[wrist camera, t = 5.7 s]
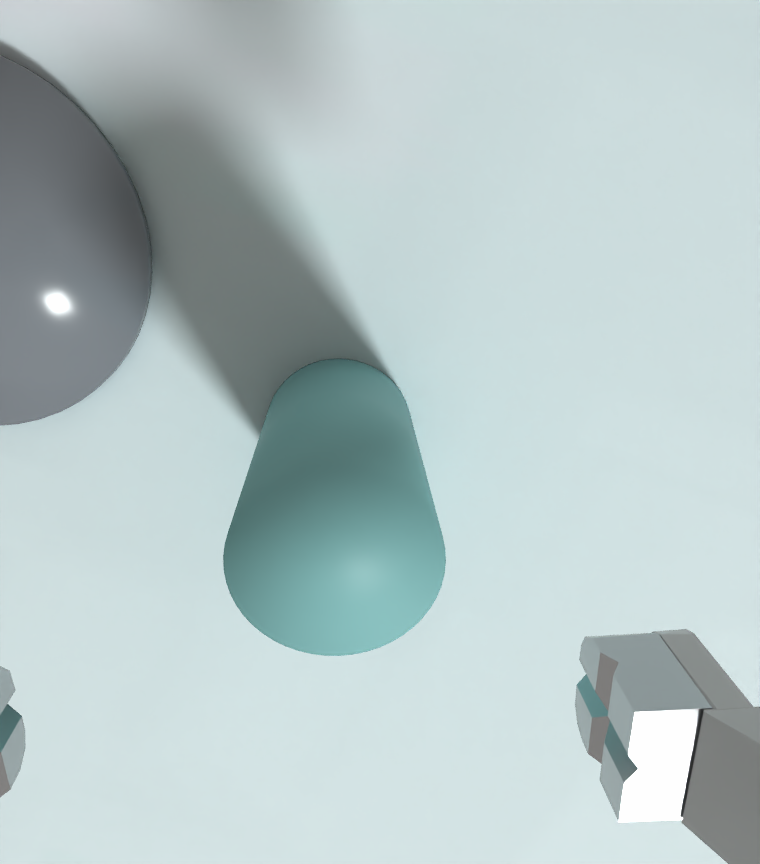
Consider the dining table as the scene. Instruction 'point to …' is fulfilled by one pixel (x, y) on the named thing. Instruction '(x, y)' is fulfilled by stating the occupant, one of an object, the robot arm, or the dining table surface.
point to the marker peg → (335, 516)
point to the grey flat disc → (63, 251)
